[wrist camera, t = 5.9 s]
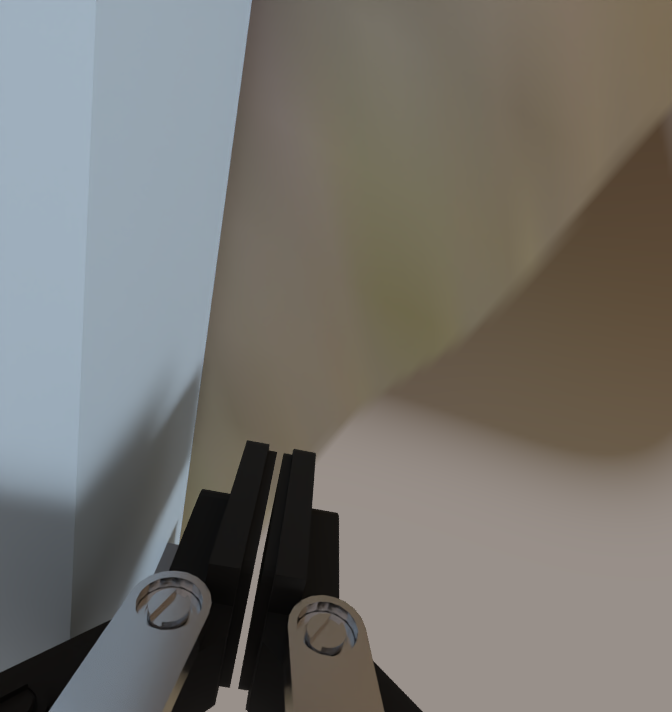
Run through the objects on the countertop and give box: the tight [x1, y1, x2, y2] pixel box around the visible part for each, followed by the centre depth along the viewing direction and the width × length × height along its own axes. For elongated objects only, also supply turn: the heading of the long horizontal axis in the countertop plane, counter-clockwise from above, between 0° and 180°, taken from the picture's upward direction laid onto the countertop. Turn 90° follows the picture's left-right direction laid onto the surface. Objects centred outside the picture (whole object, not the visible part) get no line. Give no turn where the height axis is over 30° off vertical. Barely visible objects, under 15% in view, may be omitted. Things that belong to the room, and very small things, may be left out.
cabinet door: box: [0, 0, 252, 672], centre depth 11 cm, size 18×2×8 cm, turn 168°
